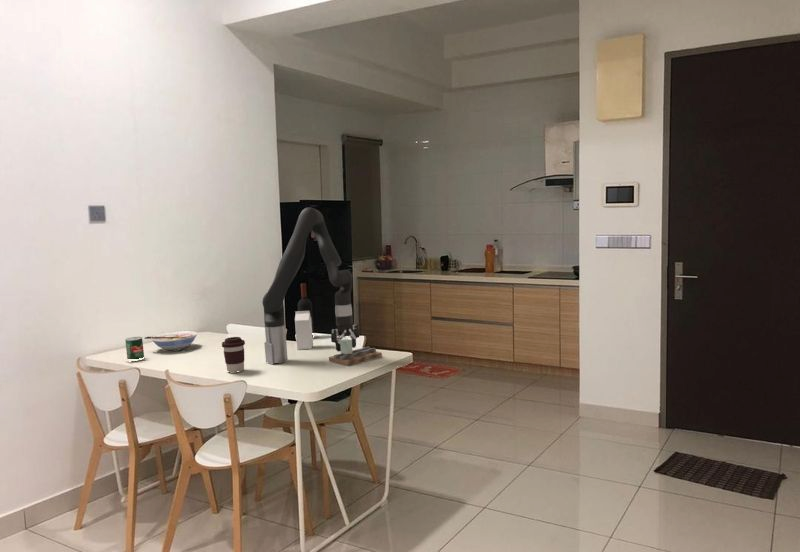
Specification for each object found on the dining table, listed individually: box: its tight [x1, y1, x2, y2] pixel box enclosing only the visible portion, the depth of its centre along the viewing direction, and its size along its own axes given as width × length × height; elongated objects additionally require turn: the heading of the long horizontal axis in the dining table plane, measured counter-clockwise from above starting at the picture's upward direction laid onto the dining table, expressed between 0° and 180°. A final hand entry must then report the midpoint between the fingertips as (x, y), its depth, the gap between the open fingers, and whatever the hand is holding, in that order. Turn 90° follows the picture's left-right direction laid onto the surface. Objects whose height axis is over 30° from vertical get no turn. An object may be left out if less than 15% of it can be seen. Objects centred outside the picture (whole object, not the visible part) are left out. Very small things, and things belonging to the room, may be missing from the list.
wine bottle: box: [297, 283, 315, 334], centre depth 343 cm, size 8×8×30 cm
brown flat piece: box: [328, 346, 383, 367], centre depth 292 cm, size 20×14×4 cm
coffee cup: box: [221, 336, 246, 372], centre depth 282 cm, size 10×10×15 cm
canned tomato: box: [124, 336, 145, 360], centre depth 315 cm, size 8×8×11 cm
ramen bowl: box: [144, 330, 198, 351], centre depth 335 cm, size 25×23×8 cm
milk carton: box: [294, 310, 314, 351], centre depth 320 cm, size 7×7×19 cm
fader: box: [340, 338, 353, 355], centre depth 288 cm, size 3×5×8 cm, turn 42°
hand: (346, 349), depth 288 cm, fingers open, 8 cm apart
